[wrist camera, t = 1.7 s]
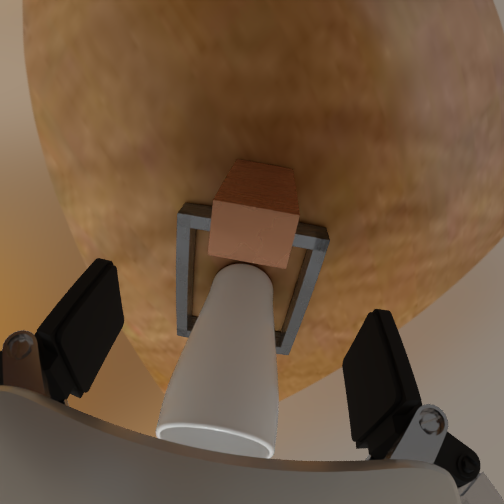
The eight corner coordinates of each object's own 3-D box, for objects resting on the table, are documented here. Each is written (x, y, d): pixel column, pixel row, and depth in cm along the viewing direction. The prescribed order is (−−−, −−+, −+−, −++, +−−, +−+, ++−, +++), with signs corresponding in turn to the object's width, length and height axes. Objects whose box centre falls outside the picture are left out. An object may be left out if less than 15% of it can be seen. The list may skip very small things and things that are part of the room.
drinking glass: (297, 291, 26) (300, 457, 13) (240, 323, 28) (215, 469, 16) (247, 238, 23) (210, 415, 11) (190, 278, 26) (131, 430, 13)
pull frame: (189, 152, 20) (143, 189, 13) (340, 179, 20) (369, 230, 13) (182, 321, 29) (159, 384, 22) (288, 340, 29) (287, 407, 22)
